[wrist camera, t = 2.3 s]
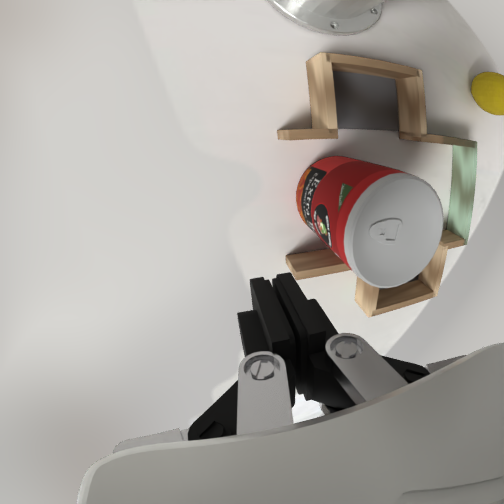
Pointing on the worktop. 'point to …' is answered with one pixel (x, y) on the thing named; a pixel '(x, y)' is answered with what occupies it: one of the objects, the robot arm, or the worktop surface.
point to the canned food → (372, 217)
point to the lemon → (489, 92)
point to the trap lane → (410, 128)
